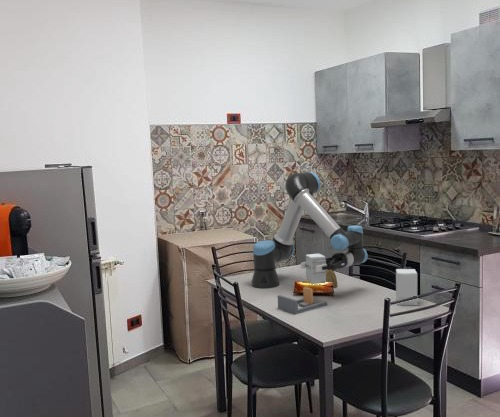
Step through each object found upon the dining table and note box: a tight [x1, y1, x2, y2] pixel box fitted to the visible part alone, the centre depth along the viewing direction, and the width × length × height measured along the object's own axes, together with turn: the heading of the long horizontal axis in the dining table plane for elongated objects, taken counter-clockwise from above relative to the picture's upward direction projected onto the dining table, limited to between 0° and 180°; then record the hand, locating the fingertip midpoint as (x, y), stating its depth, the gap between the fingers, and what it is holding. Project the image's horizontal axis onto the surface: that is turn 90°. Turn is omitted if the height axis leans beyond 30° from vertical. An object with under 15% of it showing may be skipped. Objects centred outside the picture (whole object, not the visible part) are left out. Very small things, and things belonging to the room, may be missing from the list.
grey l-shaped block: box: [277, 294, 328, 315], centre depth 239 cm, size 12×20×6 cm, turn 127°
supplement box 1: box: [305, 253, 326, 285], centre depth 243 cm, size 7×7×13 cm
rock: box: [326, 269, 338, 288], centre depth 273 cm, size 11×9×10 cm
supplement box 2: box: [395, 268, 418, 306], centre depth 239 cm, size 9×9×15 cm
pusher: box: [298, 286, 314, 308], centre depth 241 cm, size 5×5×8 cm
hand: (308, 267), depth 240 cm, fingers closed on supplement box 1, 9 cm apart
